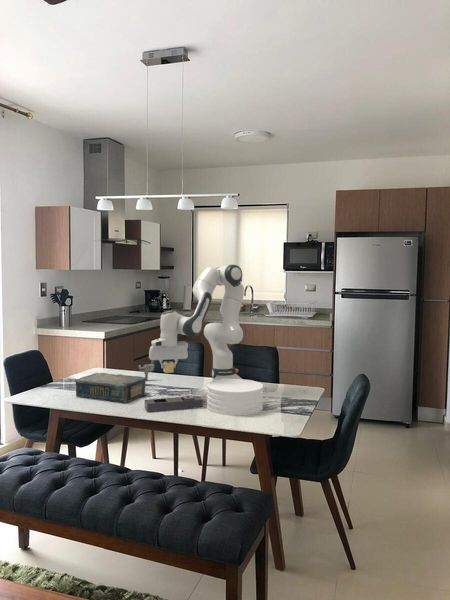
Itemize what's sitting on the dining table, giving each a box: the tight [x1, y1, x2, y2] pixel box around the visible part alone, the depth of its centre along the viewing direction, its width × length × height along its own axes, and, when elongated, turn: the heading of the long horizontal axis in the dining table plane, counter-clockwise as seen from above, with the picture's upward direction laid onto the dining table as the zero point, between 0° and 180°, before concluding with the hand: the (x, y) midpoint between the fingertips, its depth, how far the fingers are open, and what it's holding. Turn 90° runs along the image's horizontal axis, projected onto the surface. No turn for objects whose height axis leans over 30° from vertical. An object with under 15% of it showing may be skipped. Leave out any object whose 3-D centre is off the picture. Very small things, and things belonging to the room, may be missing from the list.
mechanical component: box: [137, 363, 156, 382], centre depth 300 cm, size 3×10×10 cm, turn 107°
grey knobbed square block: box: [181, 395, 193, 401], centre depth 245 cm, size 4×4×5 cm
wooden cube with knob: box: [163, 361, 175, 374], centre depth 255 cm, size 4×4×5 cm
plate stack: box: [206, 378, 264, 417], centre depth 244 cm, size 28×28×12 cm
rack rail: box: [144, 395, 204, 413], centre depth 243 cm, size 28×8×4 cm, turn 109°
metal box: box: [74, 372, 147, 404], centre depth 264 cm, size 21×32×10 cm, turn 68°
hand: (168, 367), depth 255 cm, fingers closed on wooden cube with knob, 4 cm apart
